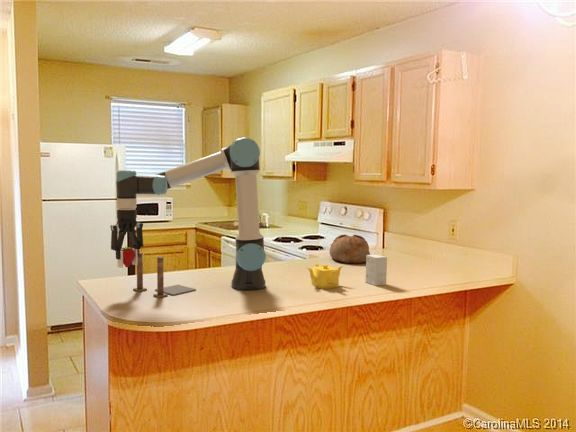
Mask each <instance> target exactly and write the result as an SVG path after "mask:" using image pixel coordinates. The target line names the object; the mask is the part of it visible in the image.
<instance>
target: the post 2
mask: <svg viewBox="0 0 576 432" xmlns="http://www.w3.org/2000/svg"><path fill="white" fill-rule="evenodd" d="M156 262H157V264H156V266H157V267H156V273H157V275H156V277H157V278H156V279H157V282H156V283H157V287H156V289H157V291H156V292H157V293H153V295H152V296H153V297H154V298H158V299H161V298H166V297H168V295H169V294H165V293H164V257H163V256H157V260H156Z"/></svg>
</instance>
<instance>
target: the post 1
mask: <svg viewBox="0 0 576 432" xmlns="http://www.w3.org/2000/svg"><path fill="white" fill-rule="evenodd" d="M143 258H144V254H143V252H139V257H138V265H136V287H135V288H132V291H133V292H136V293H140V292H145V291H147V290H148V289H147V288H146V287H144V275H143V273H144V265H143V264H144V263H143V262H144V259H143Z"/></svg>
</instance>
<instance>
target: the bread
mask: <svg viewBox="0 0 576 432" xmlns="http://www.w3.org/2000/svg"><path fill="white" fill-rule="evenodd" d="M329 255H330V257H331V258H332V260H335V261H336V262H341V263H344V264H364V263H366V255H371V253H370V247H369V243H368V241H367V240H366V238H364V237H363V236H361V235H358V234H353V235H347V234H341V235H340V234H339V235H338V236H336V237H335V238H334V239H333V242H332V243H331V245H330V247H329Z"/></svg>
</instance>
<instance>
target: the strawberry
mask: <svg viewBox="0 0 576 432" xmlns="http://www.w3.org/2000/svg"><path fill="white" fill-rule="evenodd" d="M125 246H126V247H122V249H121V251H123V266H124V267H126V268H129V267H130V266H131V265H132V261H133V259H134V256H135V253H134V251H133V250H132V249H134V247H133V246H132V247H130V246H127V244H125Z"/></svg>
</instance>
